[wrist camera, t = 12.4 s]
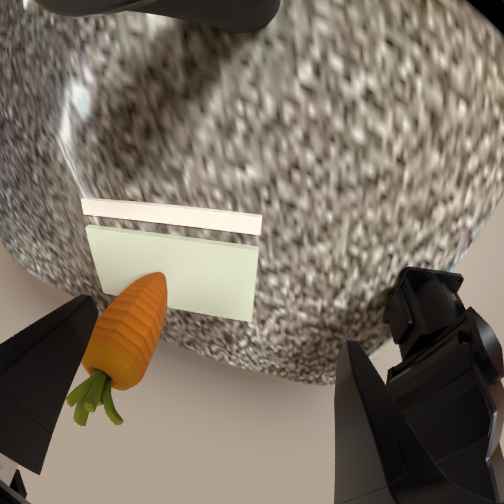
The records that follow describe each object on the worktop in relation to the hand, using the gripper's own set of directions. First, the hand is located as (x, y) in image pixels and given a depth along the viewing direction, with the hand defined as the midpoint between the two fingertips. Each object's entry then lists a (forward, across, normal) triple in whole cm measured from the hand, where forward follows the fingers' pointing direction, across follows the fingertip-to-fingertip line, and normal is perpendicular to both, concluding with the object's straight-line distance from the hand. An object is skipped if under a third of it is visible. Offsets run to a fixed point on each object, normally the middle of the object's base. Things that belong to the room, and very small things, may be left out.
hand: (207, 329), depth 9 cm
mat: (+13, +8, +9) cm, 18 cm away
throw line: (+13, +8, +3) cm, 15 cm away
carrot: (+13, +8, +9) cm, 17 cm away
